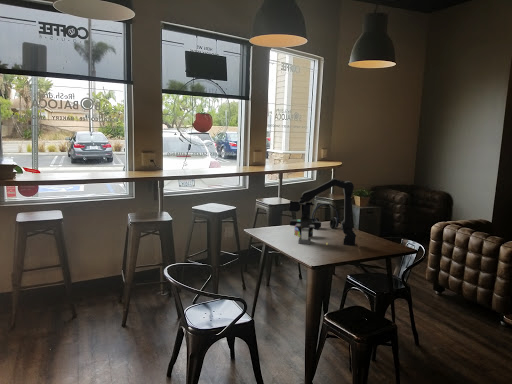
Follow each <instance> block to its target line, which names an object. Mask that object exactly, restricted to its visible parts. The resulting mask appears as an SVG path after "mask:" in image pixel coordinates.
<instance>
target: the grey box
mask: <svg viewBox="0 0 512 384" xmlns="http://www.w3.org/2000/svg"><path fill="white" fill-rule="evenodd" d="M308 234H309V228H302V233H301V240H308Z"/></svg>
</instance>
